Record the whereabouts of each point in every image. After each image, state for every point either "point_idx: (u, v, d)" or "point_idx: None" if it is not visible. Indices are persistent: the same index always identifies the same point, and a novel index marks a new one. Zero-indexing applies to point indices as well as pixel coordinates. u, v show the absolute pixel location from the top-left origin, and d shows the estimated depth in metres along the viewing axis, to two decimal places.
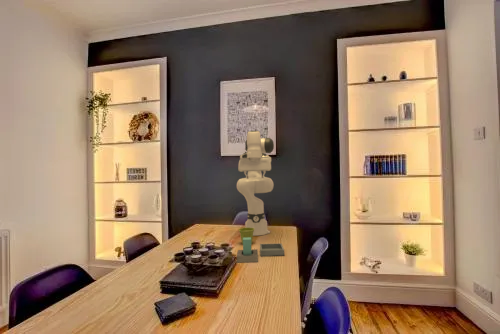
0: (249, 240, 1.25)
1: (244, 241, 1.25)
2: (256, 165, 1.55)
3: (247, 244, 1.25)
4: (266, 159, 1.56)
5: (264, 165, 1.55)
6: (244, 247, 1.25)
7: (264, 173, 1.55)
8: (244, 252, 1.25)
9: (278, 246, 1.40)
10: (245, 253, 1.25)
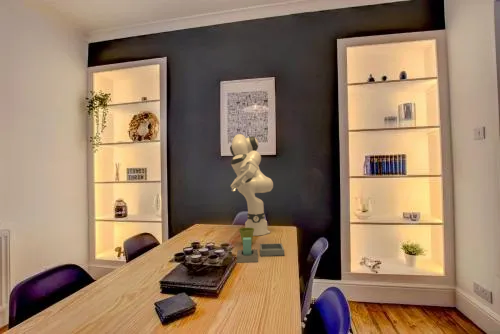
0: (249, 240, 1.25)
1: (244, 241, 1.25)
2: None
3: (247, 244, 1.25)
4: None
5: None
6: (244, 247, 1.25)
7: None
8: (244, 252, 1.25)
9: (278, 246, 1.40)
10: (245, 253, 1.25)
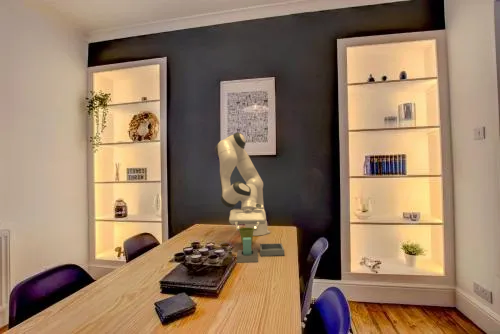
0: (249, 240, 1.25)
1: (244, 241, 1.25)
2: None
3: (247, 244, 1.25)
4: None
5: None
6: (244, 247, 1.25)
7: None
8: (244, 252, 1.25)
9: (278, 246, 1.40)
10: (245, 253, 1.25)
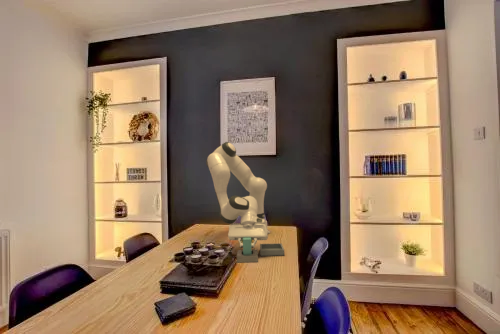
0: (249, 240, 1.25)
1: (244, 241, 1.25)
2: None
3: (247, 244, 1.25)
4: None
5: None
6: (244, 247, 1.25)
7: None
8: (244, 252, 1.25)
9: (278, 246, 1.40)
10: (245, 253, 1.24)
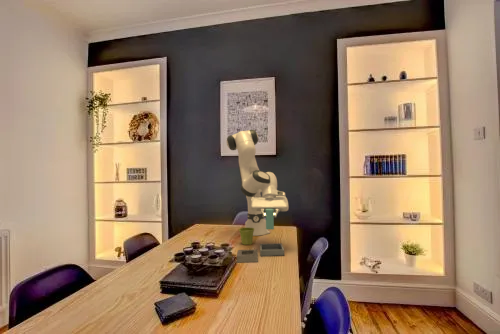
0: (271, 211, 1.33)
1: (267, 211, 1.33)
2: None
3: (270, 214, 1.33)
4: None
5: None
6: (266, 217, 1.33)
7: (262, 213, 1.38)
8: (267, 221, 1.33)
9: (278, 246, 1.40)
10: (268, 222, 1.33)
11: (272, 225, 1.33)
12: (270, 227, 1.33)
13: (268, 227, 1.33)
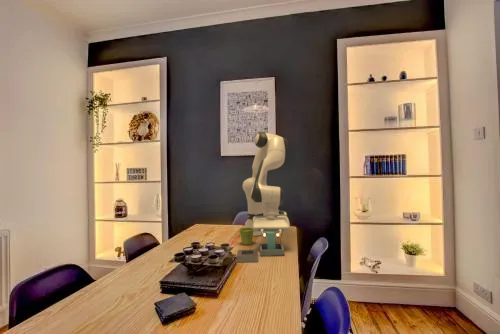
0: (273, 234, 1.33)
1: (268, 235, 1.33)
2: None
3: (271, 237, 1.33)
4: None
5: None
6: (268, 240, 1.33)
7: (262, 233, 1.38)
8: (268, 244, 1.33)
9: (278, 246, 1.40)
10: (269, 245, 1.33)
11: (274, 248, 1.33)
12: None
13: None
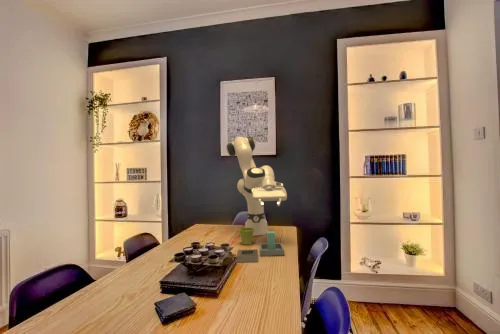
0: (273, 234, 1.33)
1: (268, 235, 1.33)
2: None
3: (271, 237, 1.33)
4: None
5: None
6: (268, 240, 1.33)
7: (259, 203, 1.48)
8: (268, 244, 1.33)
9: (278, 246, 1.40)
10: (269, 245, 1.33)
11: (274, 248, 1.33)
12: None
13: None
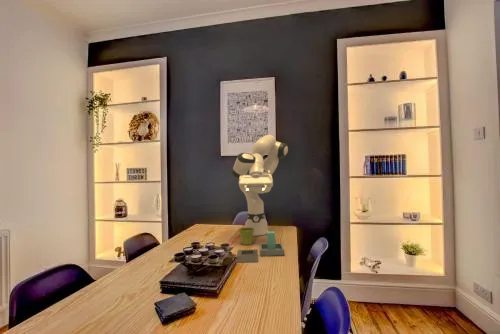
0: (273, 234, 1.33)
1: (268, 235, 1.33)
2: None
3: (271, 237, 1.33)
4: None
5: None
6: (268, 240, 1.33)
7: (245, 189, 1.50)
8: (268, 244, 1.33)
9: (278, 246, 1.40)
10: (269, 245, 1.33)
11: (274, 248, 1.33)
12: None
13: None
